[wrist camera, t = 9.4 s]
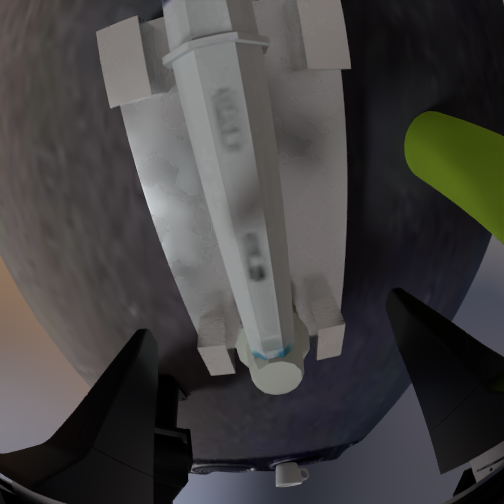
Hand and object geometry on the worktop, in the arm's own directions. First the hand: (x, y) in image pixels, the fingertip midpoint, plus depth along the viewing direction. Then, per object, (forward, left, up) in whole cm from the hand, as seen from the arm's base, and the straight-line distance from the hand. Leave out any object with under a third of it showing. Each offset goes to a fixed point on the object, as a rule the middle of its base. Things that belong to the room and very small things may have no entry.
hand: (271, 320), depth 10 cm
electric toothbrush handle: (0, 0, -9) cm, 9 cm away
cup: (-85, 0, -12) cm, 86 cm away
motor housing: (+3, 0, -12) cm, 12 cm away
